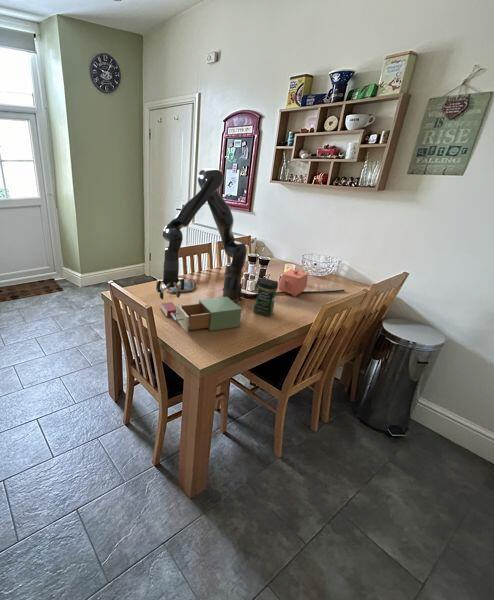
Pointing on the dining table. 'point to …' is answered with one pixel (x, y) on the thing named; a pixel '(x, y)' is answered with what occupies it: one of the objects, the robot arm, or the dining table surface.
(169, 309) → the red rectangular block
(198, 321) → the drawer
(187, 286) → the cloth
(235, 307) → the cabinet
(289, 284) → the pink knobbed cube
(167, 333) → the dining table surface
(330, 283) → the dining table surface
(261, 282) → the coffee jar
